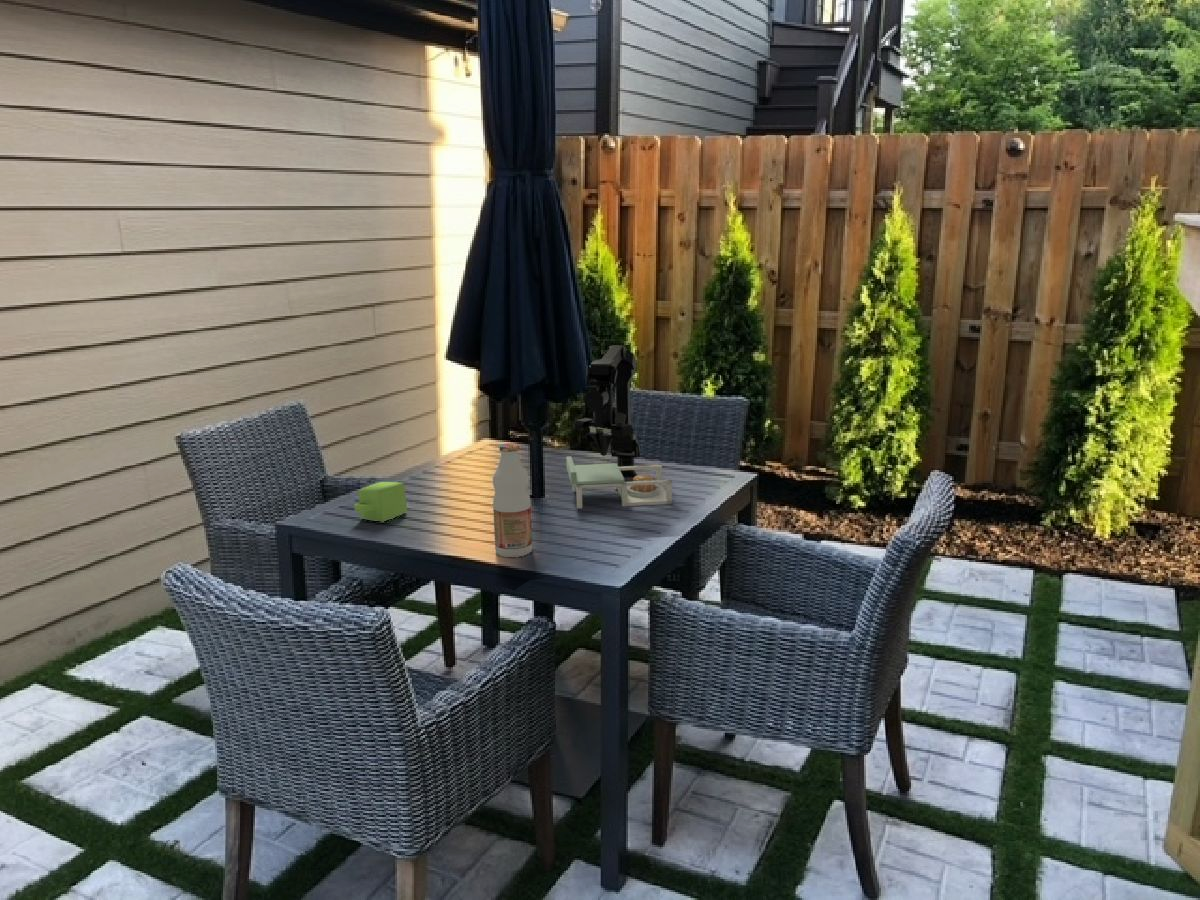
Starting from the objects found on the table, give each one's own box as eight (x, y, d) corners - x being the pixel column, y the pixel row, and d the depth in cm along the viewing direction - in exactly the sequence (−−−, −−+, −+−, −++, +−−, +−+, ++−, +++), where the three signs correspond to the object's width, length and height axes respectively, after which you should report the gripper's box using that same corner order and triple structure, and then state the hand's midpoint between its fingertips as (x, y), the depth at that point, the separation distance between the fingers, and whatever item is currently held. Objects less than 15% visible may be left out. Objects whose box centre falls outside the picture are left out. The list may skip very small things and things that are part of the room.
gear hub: (632, 490, 291) (631, 474, 290) (652, 489, 292) (652, 473, 291) (634, 496, 285) (634, 480, 284) (655, 495, 286) (655, 479, 285)
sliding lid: (566, 468, 294) (566, 456, 293) (616, 465, 296) (616, 454, 295) (571, 484, 276) (570, 472, 275) (624, 482, 277) (624, 469, 276)
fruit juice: (487, 553, 242) (482, 446, 235) (514, 543, 249) (509, 439, 242) (513, 561, 236) (508, 451, 229) (540, 550, 243) (536, 444, 236)
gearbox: (390, 507, 284) (387, 476, 282) (417, 509, 280) (414, 478, 278) (349, 523, 269) (345, 490, 267) (376, 526, 264) (373, 493, 262)
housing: (572, 490, 296) (571, 468, 294) (661, 486, 299) (661, 464, 297) (577, 508, 278) (576, 485, 276) (671, 503, 280) (671, 481, 279)
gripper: (644, 403, 281) (645, 454, 284) (596, 397, 292) (597, 446, 296) (621, 409, 272) (621, 462, 276) (572, 402, 284) (573, 453, 288)
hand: (603, 455), depth 284 cm, fingers closed
